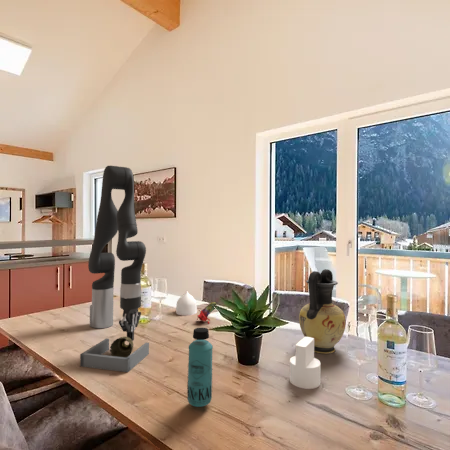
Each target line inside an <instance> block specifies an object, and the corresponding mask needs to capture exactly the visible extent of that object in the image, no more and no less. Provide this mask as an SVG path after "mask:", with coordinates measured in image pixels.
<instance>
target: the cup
mask: <svg viewBox="0 0 450 450" xmlns="http://www.w3.org/2000/svg"><path fill="white" fill-rule="evenodd" d="M126 342H127V343H128V344H126ZM133 350H134V340H133V341H132V340H131V339H130V338H129V337H127V336H120V337H118V338H116V339H114V340H113V342H111V344H110V345H109V352H110V356H116V357H125V358H127V357H128V356H129V355H131V354H132V353H133Z"/></svg>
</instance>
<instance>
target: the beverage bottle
mask: <svg viewBox="0 0 450 450" xmlns="http://www.w3.org/2000/svg"><path fill="white" fill-rule="evenodd" d="M209 337H210V334H209V329H208V328H207V327H195V328H194V329H193V334H192V338H193V339H194V340H193V341H192V342H191V343H189V345H188V364H187V369H188V370H187V383H186V384H187V385H186V387H187V389H186V394H187V396H186V398H187V402H188V403H189V404H190V405H191V406H192V407H198V408H200V407H205V406H207V405H209V404H210V403H211V401H212V398H213V349H214V347H213V345H212V343H211V342H209V341H208V340H207V339H209Z"/></svg>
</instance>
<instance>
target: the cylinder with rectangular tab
mask: <svg viewBox="0 0 450 450" xmlns="http://www.w3.org/2000/svg"><path fill="white" fill-rule="evenodd" d="M321 368H322V367H321V361H320V360H319V359H318V358H316V357H315V352H314V338H311V337H305V336H304V337H303V338H302V339H300V340H299V341H298V342H297V343H296V344H295V355H294V356H291V357H290V358H289V382H290V384H292V385H293V386H295V387H297V388H300V389H303V390H305V389H306V390H312V389H313V390H314V389H317V388H318V387H320V385H321Z"/></svg>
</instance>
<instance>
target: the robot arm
mask: <svg viewBox="0 0 450 450" xmlns="http://www.w3.org/2000/svg"><path fill="white" fill-rule="evenodd" d="M134 179H135V177H134V174H133V171H132V169H131V168H130V167H127V166H117V165H107V166H106V167H105V168H104V170H103V174H102V182H101V191H100V192H101V194H100V201H99V202H100V203H99V208H98V212H97V213H98V214H97V216H96V222H95V229H94V236H93V242H92V246H91V249H90V253H89V258H88V266H87V267H88V271H89V272H90V274H94V275H95V274H103V275H102V277H100V278H98V279H96V280H94V281H92V283H91V284H92V285H91V305H89V327H91V328H93V329H106V328H110V327H112V326H113V325H114V289H115V288H114V283H115V270H116V269H115V268H116V258H115V255H116V256H117V258H118V260H119V261H122V262H123V261H124V262H125V261H133V262H132V264H129V265H127V266H125V267H123V268H121V270H120V271H121V272H120V275H121V276H120V283H121V284H120V288H119V289H120V290H119V292H120V293H119V296H120V297H119V307H120V309H122V311H123V313H122V319H119V320H118V324H119V326H120V328H121V330H122V331H123V333H124V332H125V333H126V337H129V338H130V339H131V340H132V341H133V342H134V340H135V330H136V328H137V327H138V326H139V322H140V319H141V315H142V312H141V311H139V309H140V308H141V307H142V285H141V284H142V283H141V281H142V280H141V279H142V277H141V275H142V268H143V264H144V261H145V258H146V254H147V247H146V244H145V243H144V242H143V241H140V240H136V241H133V240H132V241H128V240H127V239H130V238H133V237H135V236H137V234H138V233H139V232H138V231H139V230H138V227H137V226H138V224H137V218H136V214H135V181H134ZM113 190H119V191H121V190H122V191H123V192H124V199H123V201H122V203H121V204H120V207H118V209H117V206H116V205H115V202H114V200H113V198H112V197H113V196H112V192H113ZM117 234H118V235H117ZM116 235H117V237H118V238H117V245H116V251H115V252H116V253H115V255H114V254H113V253H112V252H103V250H104V248H105V246H106V245H107V244H109V242H111V241H112V240H113V238H115V236H116Z"/></svg>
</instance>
